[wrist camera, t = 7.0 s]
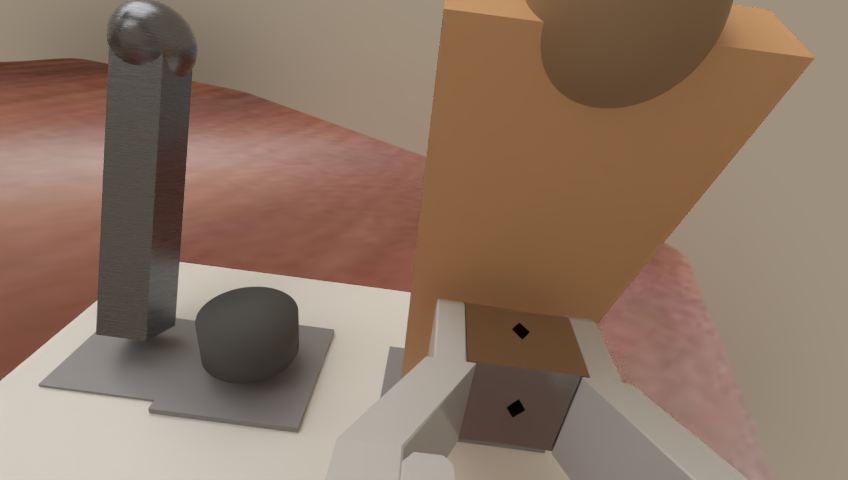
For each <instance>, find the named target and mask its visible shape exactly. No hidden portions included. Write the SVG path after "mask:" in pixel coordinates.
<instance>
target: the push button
mask: <svg viewBox="0 0 848 480" xmlns="http://www.w3.org/2000/svg"><path fill="white" fill-rule="evenodd" d="M195 328H196V334H197V339H198V345H199V351H200V357H201V362H202V365H203V367H204V369H205V370H206V372H207V373H209V374H210V375H211V376H213V377H214V378H216V379H218V380H221V381H224V382H229V383H252V382H257V381H261V380H264V379H267V378H270V377H272V376H274V375H276V374H278V373H280V372H281V371H283V370H284V369H285V368H287V367H288V366H289V365H290V364H291V363H292V361H293V360H294V359H295V357H296V355H297V353H298V350H299V316H298V306H297V304H296V302H295V301H294V299H293V298H292V297H291V296H289V295H288V294H286V293H284V292H282V291H280V290H277V289H273V288H268V287H244V288H238V289H234V290H230V291H228V292H225V293H222V294H220V295H218V296H216V297H214V298H213V299H211V300H210V301H208V302H207V303H206V304H205V305H204V306H203V307H202V308H201V309H200V310H199V312H198V314H197V316H196V319H195Z"/></svg>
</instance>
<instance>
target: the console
mask: <svg viewBox="0 0 848 480" xmlns="http://www.w3.org/2000/svg"><path fill="white" fill-rule="evenodd" d="M244 287H268V288H273V289H277V290H280V291H282V292H284V293H286V294H288V295H289V296H291V297H292V298H293V299H294V301H295V302H296V304H297V306H298V316H299V350H298V353H297V355H296V357H295V359H294V360H293V361H292V363H291V364H290V365H289V366H288V367H287V368H285V369H284V370H283V371H281V372H280V373H278V374H276V375H274V376H272V377H270V378H267V379H264V380H261V381H257V382H252V383H229V382H224V381H221V380H218V379H216V378H214V377H213V376H211V375H210V374H209V373H207V372H206V370H205V369H204V367H203V365H202V362H201V357H200V351H199V345H198V339H197V334H196V328H195V319H196V316H197V314H198V312H199V310H200V309H201V308H202V307H203V306H204V305H205V304H206V303H207V302H208V301H210V300H211V299H213V298H214V297H216V296H218V295H220V294H222V293H225V292H228V291H230V290H234V289H238V288H244ZM410 296H411V292H403V291H396V290H388V289H380V288H373V287H365V286H358V285H350V284H343V283H335V282H327V281H320V280H312V279H305V278H297V277H290V276H282V275H274V274H267V273H259V272H252V271H244V270H237V269H229V268H221V267H214V266H206V265H199V264H191V263H184V262H179V276H178V291H177V305H176V320H175V326H174V327H172V328H170V329H168V330H166V331H164V332H162V333H160V334H159V335H157V336H155V337H153V338H151V339H149V340H147V341H140V340H133V339H125V338H117V337H110V336H102V335H96V323H97V301H98V300H97V301H96V302H95V303H93V304H92V305H91V306H90V307H89V308H87V309H86V310H85V311H84V312H83V313H81V314H80V315H79V316H78V317H77V318H75V319H74V320H73V321H72V322H71V323H69V324H68V325H67V326H66V327H65V328H63V329H62V330H61V331H60V332H59V333H57V334H56V335H55V336H54V337H53V338H51V339H50V340H49V341H48V342H47V343H45V344H44V345H43V346H42V347H41V348H39V349H38V350H37V351H36V352H35V353H33V354H32V355H31V356H30V357H28V358H27V359H26V360H25V361H24V362H22V363H21V364H20V365H19V366H18V367H16V368H15V369H14V370H13V371H12V372H10V373H9V374H8V375H7V376H6V377H4V378H3V379H2V380H1V381H0V480H325V478H326V475H327V471H328V468H329V464H330V460H331V457H332V453H333V450H334V446H335V442H336V439H337V438H338V437H339V436H340V435H341V434H342V433H343V432H344V431H345V430H346V429H347V428H349V427H350V426H351V425H352V424H353V423H354V422H355V421H356V420H357V419H358V418H359V417H360V416H362V415H363V414H364V413H365V412H366V411H367V410H368V409H369V408H370V407H371V406H372V405H374V404H375V403H376V402H377V401H378V400H379V399H380V398H381V397H382V396H383V395H384V394H386V393H387V392H388V391H389V390H390V389H391V388H392V387H393V386H394V385H395V384H396V383H398V382H399V381H400V380H401V374H402V365H403V357H404V348H405V339H406V331H407V322H408V313H409V305H410ZM551 453H552V451H547V450H541V449H535V448H529V447H522V446H516V445H510V444H505V443H495V442H485V441H476V440H466V439H458V442H457V443H456V445H455V446H454V448H453V449H452V451H451V452H450V454H449V455H448V457H447V459H448V460H449V461H450V462H451V463H452V464H453V465H454V480H570V479H569V477H568V476H567V475H566V473H565V472H564V470H563V469H562V468H561V466H560V465H559V463H558V462H557V461H556V459H555V458H554V457H553V455H552V454H551Z"/></svg>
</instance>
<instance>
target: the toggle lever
mask: <svg viewBox="0 0 848 480" xmlns="http://www.w3.org/2000/svg"><path fill="white" fill-rule="evenodd" d="M106 31H107V41H108V44H109V63H108V82H107V104H106V126H105V148H104V170H103V192H102V214H101V236H100V258H99V280H98V301H97V323H96V335H102V336H110V337H117V338H125V339H133V340H140V341H147V340H149V339H151V338H153V337H155V336H157V335H159V334H160V333H162V332H164V331H166V330H168V329H170V328H172V327H174V326H175V320H176V305H177V291H178V276H179V261H180V246H181V231H182V216H183V201H184V187H185V172H186V157H187V142H188V127H189V112H190V97H191V82H192V68H193V66H194V65H195V62H196V59H197V42H196V38H195V35H194V33H193V31H192V29H191V27H190V26H189V24H188V23H187V22H186V20H185V19H184V18H183V17H182V16H181V15H180V14H179V13H178V12H177V11H175V10H174V9H172V8H171V7H169V6H167V5H165V4H163V3H160V2H158V1H155V0H131V1H128V2H125V3H124V4H122V5H120V6H119V7H117V8H116V9H115V10H114V12H113V13H112V14H111V16H110V18H109V21H108V24H107V30H106Z"/></svg>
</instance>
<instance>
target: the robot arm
mask: <svg viewBox="0 0 848 480" xmlns="http://www.w3.org/2000/svg"><path fill="white" fill-rule="evenodd" d="M458 439H466V440H476V441H485V442H495V443H505V444H510V445H516V446H522V447H529V448H535V449H541V450H547V451H552V453H551V454H552V455H553V457H554V458H555V459H556V461H557V462H558V463H559V465H560V466H561V468H562V469H563V470H564V472H565V473H566V475H567V476H568V477H569V479H570V480H749V479H747V478H746V477H745V476H744V475H742V474H741V473H740V472H739V471H738V470H736V469H735V468H734V467H733V466H731V465H730V464H729V463H728V462H727V461H725V460H724V459H723V458H722V457H720V456H719V455H718V454H717V453H715V452H714V451H713V450H712V449H711V448H709V447H708V446H707V445H706V444H704V443H703V442H702V441H701V440H700V439H698V438H697V437H696V436H695V435H693V434H692V433H691V432H690V431H689V430H687V429H686V428H685V427H684V426H682V425H681V424H680V423H679V422H678V421H676V420H675V419H674V418H673V417H671V416H670V415H669V414H668V413H667V412H665V411H664V410H663V409H662V408H660V407H659V406H658V405H657V404H655V403H654V402H653V401H652V400H651V399H649V398H648V397H647V396H646V395H644V394H643V393H642V392H641V391H640V390H638V389H637V388H636V387H635V386H633V385H632V384H628V383H623V381H622V379H621V377H620V375H619V373H618V370H617V368H616V366H615V364H614V362H613V359H612V357H611V355H610V353H609V351H608V348H607V346H606V344H605V342H604V340H603V337H602V335H601V333H600V331H599V329H598V326H597V324H596V322H595V321H593V320H592V319H587V318H578V317H568V316H565V317H562V316H554V315H546V314H538V313H530V312H522V311H515V310H511V309H505V308H499V307H492V306H486V305H479V304H473V303H467V302H464V303H463V302H460V301H452V300H445V299H438V300H437V303H436V309H435V315H434V321H433V327H432V332H431V338H430V344H429V351H428V356H426V357H425V358H424V359H423V360H422V361H420V362H419V363H418V364H417V365H416V366H415V367H414V368H413V369H412V370H411V371H410V372H408V373H407V374H406V375H405V376H404V377H403V378H402V379H401V380H400V381H399V382H398V383H396V384H395V385H394V386H393V387H392V388H391V389H390V390H389V391H388V392H387V393H386V394H384V395H383V396H382V397H381V398H380V399H379V400H378V401H377V402H376V403H375V404H374V405H372V406H371V407H370V408H369V409H368V410H367V411H366V412H365V413H364V414H363V415H362V416H360V417H359V418H358V419H357V420H356V421H355V422H354V423H353V424H352V425H351V426H350V427H349V428H347V429H346V430H345V431H344V432H343V433H342V434H341V435H340V436H339V437H338V438H337V439H336V442H335V446H334V450H333V453H332V457H331V460H330V464H329V468H328V471H327V475H326V478H325V480H454V465H453V464H452V463H451V462H450V461H449V460H448V459H447V457H448V455H449V454H450V452H451V451H452V449H453V448H454V446H455V445H456V443H457V442H458Z"/></svg>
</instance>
